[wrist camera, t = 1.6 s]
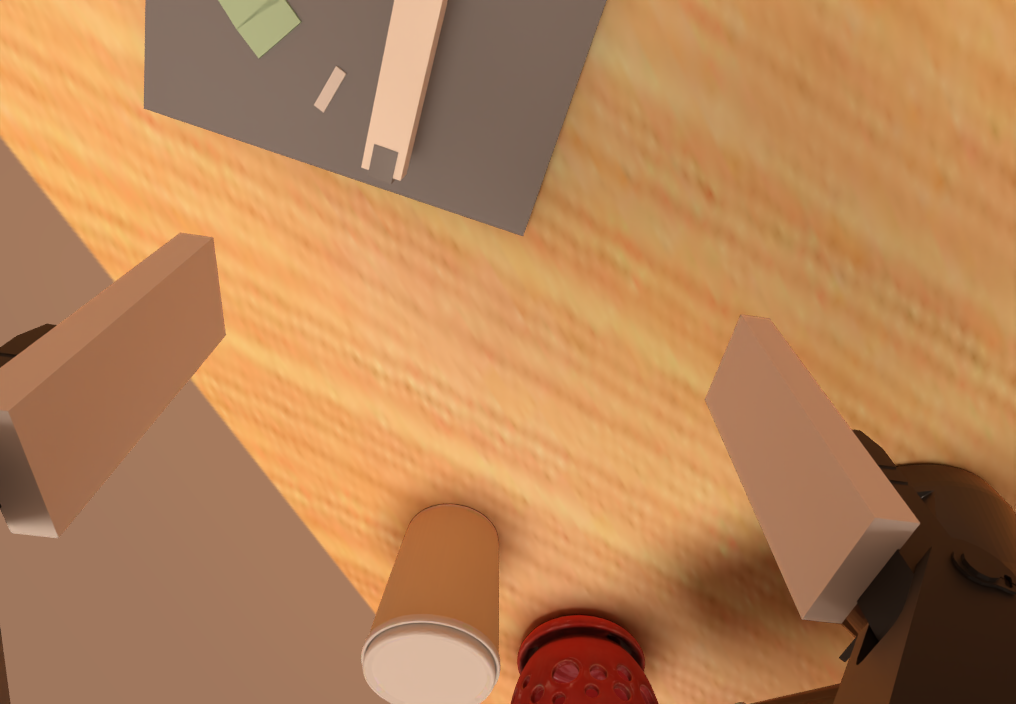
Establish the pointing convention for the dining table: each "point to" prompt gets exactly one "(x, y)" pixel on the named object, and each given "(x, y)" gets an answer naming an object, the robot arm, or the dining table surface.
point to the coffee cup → (438, 613)
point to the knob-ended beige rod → (402, 87)
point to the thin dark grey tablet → (353, 83)
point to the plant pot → (581, 664)
